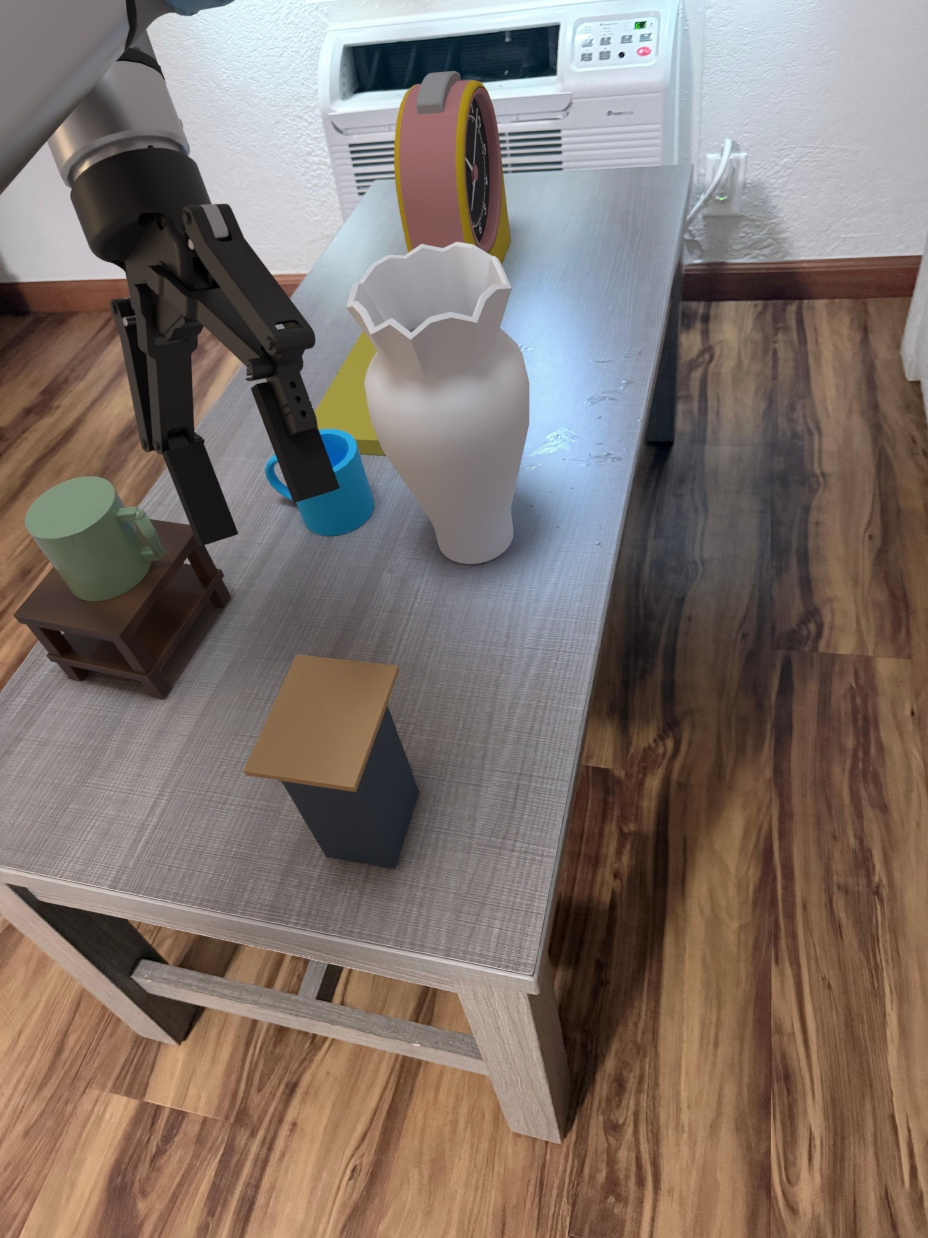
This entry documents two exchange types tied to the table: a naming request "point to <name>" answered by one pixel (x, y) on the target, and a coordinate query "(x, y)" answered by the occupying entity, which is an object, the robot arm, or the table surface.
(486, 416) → the vase
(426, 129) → the alarm clock
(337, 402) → the flat olive board
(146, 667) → the rack
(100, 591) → the green coffee cup
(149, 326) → the robot arm
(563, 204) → the table surface
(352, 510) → the mug
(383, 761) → the stand
